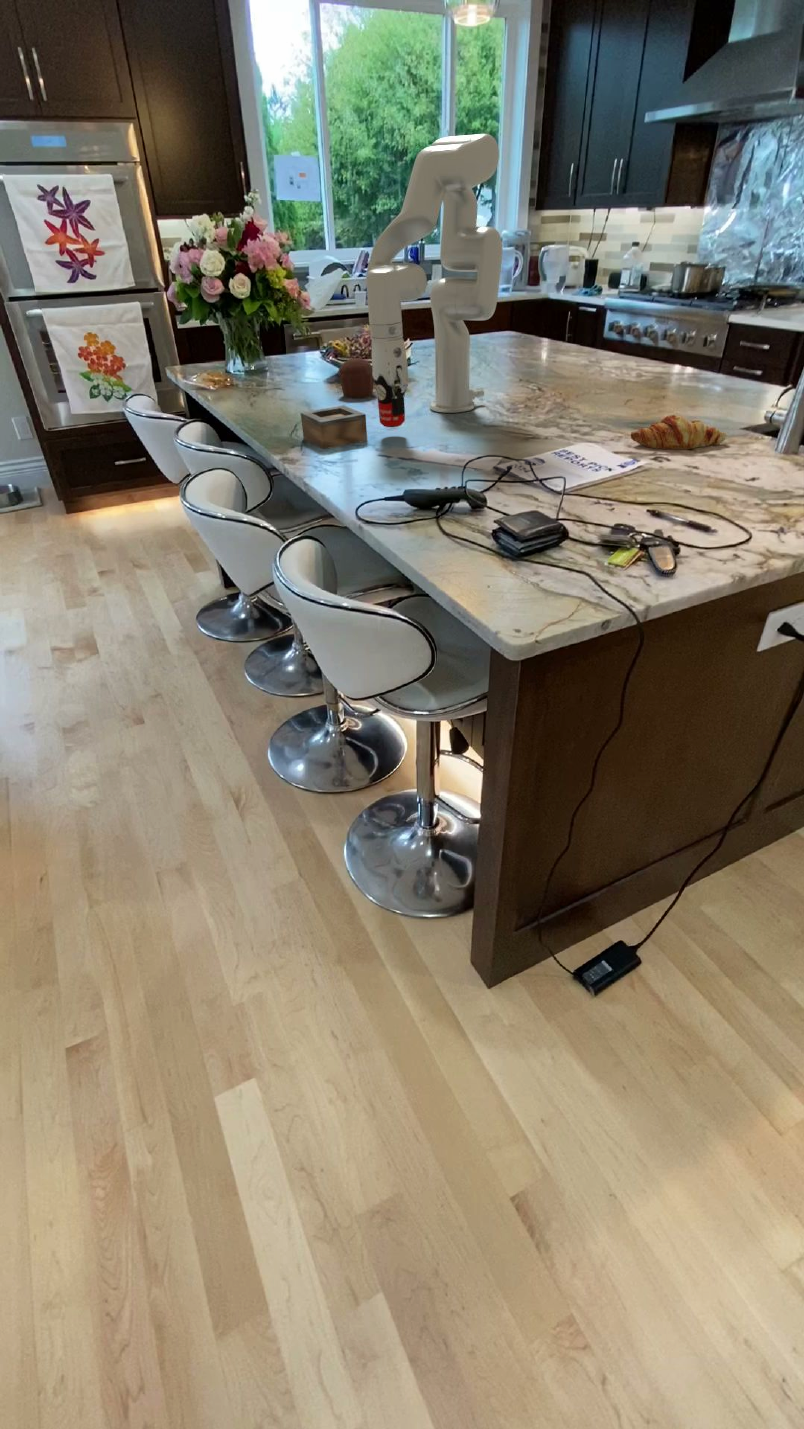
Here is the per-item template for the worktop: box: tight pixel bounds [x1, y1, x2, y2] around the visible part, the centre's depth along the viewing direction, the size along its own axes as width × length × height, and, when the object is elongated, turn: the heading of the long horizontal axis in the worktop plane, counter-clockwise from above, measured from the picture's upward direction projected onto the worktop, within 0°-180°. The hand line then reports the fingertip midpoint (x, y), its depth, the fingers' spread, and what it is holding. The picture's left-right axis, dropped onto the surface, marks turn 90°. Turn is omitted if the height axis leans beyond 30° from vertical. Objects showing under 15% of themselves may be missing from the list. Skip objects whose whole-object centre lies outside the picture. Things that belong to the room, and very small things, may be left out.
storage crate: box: [300, 404, 368, 450], centre depth 180 cm, size 12×12×6 cm
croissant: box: [630, 414, 727, 450], centre depth 166 cm, size 21×10×8 cm, turn 86°
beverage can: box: [376, 374, 406, 428], centre depth 177 cm, size 6×6×12 cm
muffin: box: [337, 357, 375, 399], centre depth 220 cm, size 12×11×10 cm
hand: (391, 411), depth 179 cm, fingers closed on beverage can, 6 cm apart
